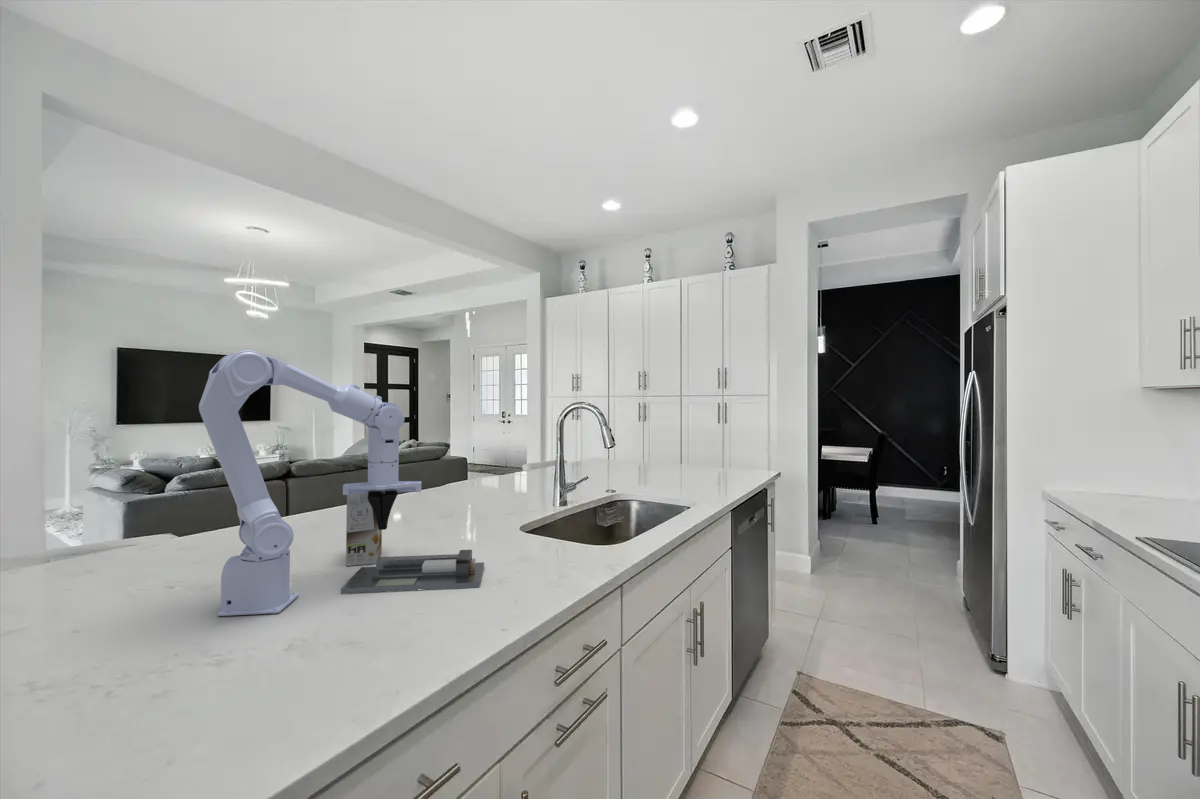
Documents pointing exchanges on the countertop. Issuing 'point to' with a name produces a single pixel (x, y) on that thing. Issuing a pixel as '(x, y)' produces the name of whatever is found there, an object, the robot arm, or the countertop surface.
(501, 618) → the countertop surface
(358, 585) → the heatsink base
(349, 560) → the coffee box
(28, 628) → the countertop surface
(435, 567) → the rectangular block
